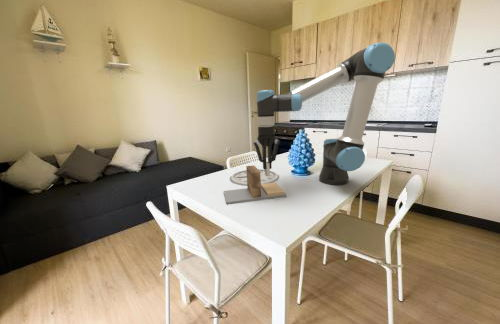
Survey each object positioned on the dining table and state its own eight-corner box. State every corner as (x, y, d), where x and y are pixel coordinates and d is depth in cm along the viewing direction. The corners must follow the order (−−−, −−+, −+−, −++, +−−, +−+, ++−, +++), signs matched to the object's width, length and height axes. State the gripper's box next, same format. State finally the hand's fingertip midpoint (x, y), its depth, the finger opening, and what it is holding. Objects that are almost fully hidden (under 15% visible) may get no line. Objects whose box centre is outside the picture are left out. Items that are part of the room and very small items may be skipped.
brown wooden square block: (255, 187, 112) (254, 165, 109) (261, 196, 100) (260, 172, 98) (247, 188, 111) (246, 166, 108) (252, 198, 100) (251, 172, 97)
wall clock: (286, 170, 137) (267, 186, 112) (286, 173, 138) (267, 189, 112) (244, 166, 151) (219, 180, 126) (244, 169, 152) (219, 182, 126)
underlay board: (277, 186, 115) (277, 181, 115) (286, 196, 102) (286, 191, 101) (224, 192, 110) (223, 188, 110) (226, 204, 97) (226, 199, 96)
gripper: (277, 124, 104) (277, 171, 110) (250, 126, 102) (252, 174, 108) (282, 125, 97) (283, 176, 103) (253, 127, 95) (256, 179, 100)
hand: (267, 175), depth 105 cm, fingers closed
